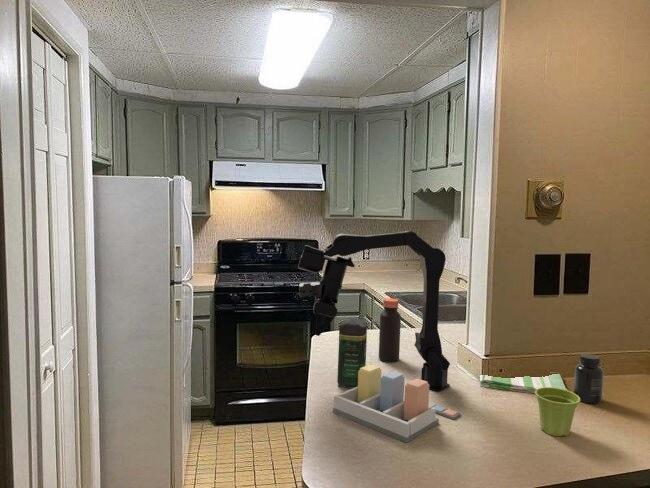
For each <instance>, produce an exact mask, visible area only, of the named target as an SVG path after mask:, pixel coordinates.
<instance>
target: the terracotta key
mask: <svg viewBox="0 0 650 488" xmlns="http://www.w3.org/2000/svg"><path fill="white" fill-rule="evenodd" d="M429 398H430V389H429V384H428V382H427V381H423V380H421V379H420V378H415V379H413V380H411V381H408V382H407V383H406V385H404V419H406V420H408V421H409V420H411V419H413V418H415V417H417V416H418V415H420V414H422V413H424V412H425V411H427V410H429V402H430V400H429Z"/></svg>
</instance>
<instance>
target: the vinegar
mask: <svg viewBox="0 0 650 488" xmlns="http://www.w3.org/2000/svg"><path fill="white" fill-rule="evenodd" d="M382 304H383V305H382V306H383V311H382V312H381V313H380V314H379V333H378V334H379V336H378V338H379V340H378V359H379V360H380V361H382V362H384V363H396V362H398V361H399V360H400V347H401V346H400V345H401V344H400V343H401V320H402V316H401V313H400V312H399V311H398V309H399V300H398V299H396V298H390V297H389V298H384V299H383V303H382Z"/></svg>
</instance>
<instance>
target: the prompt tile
mask: <svg viewBox="0 0 650 488" xmlns="http://www.w3.org/2000/svg"><path fill="white" fill-rule="evenodd" d="M431 408H436V413H435V415H439V416H443V417H445V418H447V419H451V420H456V419H457V418H460V417H461V415H462V412H459V411H456V410H453V409H451V408H447V407H444V406H441V405H438V404H434V405H432V406H431V407H428V410H429V409H431Z"/></svg>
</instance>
